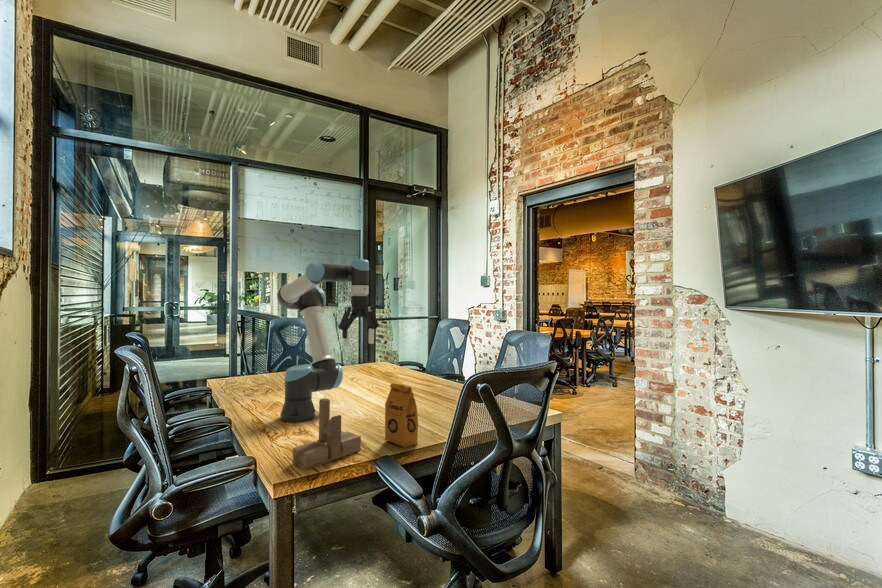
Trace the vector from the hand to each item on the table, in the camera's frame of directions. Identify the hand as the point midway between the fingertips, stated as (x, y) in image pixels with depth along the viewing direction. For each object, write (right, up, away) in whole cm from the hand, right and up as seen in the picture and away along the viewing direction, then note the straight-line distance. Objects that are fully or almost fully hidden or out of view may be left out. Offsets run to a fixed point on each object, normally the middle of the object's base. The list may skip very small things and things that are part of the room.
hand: (359, 344), depth 172 cm
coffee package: (+20, -35, -19) cm, 45 cm away
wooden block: (-4, -34, -33) cm, 47 cm away
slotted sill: (-4, -34, -33) cm, 48 cm away
